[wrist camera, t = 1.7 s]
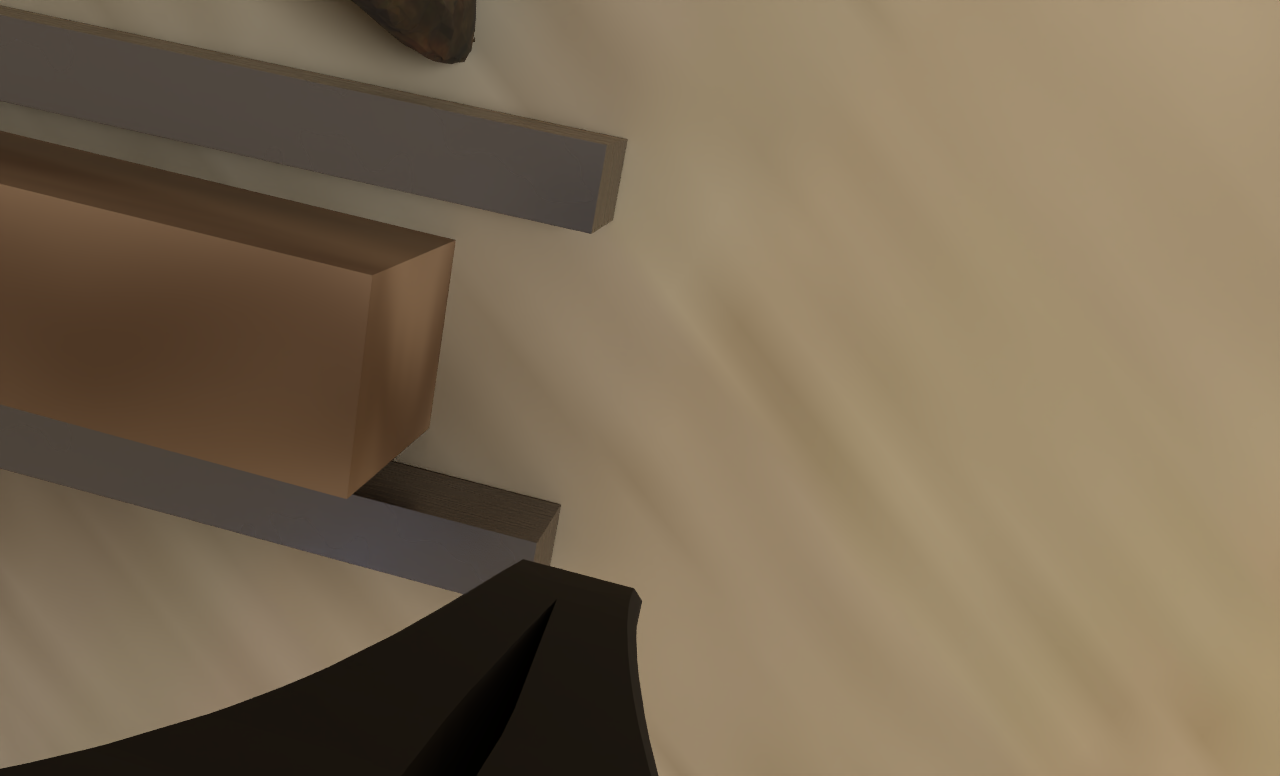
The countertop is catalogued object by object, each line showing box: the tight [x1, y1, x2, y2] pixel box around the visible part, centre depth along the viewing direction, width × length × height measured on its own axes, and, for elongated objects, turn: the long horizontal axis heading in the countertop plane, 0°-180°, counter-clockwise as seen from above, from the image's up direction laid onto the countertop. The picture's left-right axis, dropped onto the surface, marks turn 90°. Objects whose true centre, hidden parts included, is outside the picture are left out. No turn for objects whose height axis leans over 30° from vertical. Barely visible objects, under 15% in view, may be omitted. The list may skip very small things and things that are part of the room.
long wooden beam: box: [0, 131, 456, 499], centre depth 19 cm, size 4×12×4 cm, turn 78°
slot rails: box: [0, 6, 628, 594], centre depth 20 cm, size 9×24×2 cm, turn 79°
